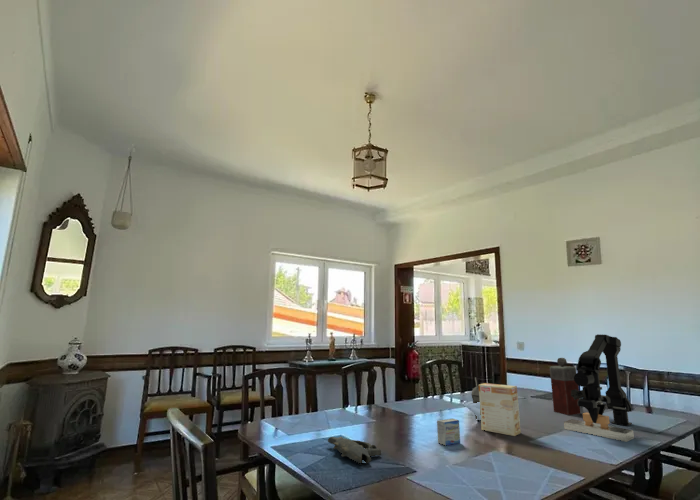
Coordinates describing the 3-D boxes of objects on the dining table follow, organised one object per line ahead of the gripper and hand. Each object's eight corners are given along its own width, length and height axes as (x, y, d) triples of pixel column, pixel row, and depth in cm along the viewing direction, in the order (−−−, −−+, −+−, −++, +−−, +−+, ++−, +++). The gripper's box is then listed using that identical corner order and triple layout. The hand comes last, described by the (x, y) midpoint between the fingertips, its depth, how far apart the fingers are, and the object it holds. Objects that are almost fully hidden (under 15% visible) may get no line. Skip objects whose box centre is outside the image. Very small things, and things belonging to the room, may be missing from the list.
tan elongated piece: (354, 451, 129) (392, 450, 135) (325, 431, 151) (359, 431, 157) (352, 468, 128) (390, 466, 134) (323, 445, 150) (357, 445, 156)
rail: (572, 426, 178) (572, 419, 179) (634, 438, 159) (633, 430, 160) (564, 429, 173) (563, 421, 174) (626, 441, 155) (625, 433, 155)
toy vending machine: (584, 413, 203) (577, 357, 208) (568, 415, 199) (562, 358, 204) (568, 409, 211) (563, 356, 216) (553, 411, 207) (548, 357, 212)
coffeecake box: (521, 433, 167) (517, 385, 171) (515, 436, 162) (511, 387, 166) (487, 427, 178) (484, 382, 181) (480, 430, 172) (477, 384, 176)
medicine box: (445, 446, 150) (444, 422, 152) (437, 443, 154) (436, 420, 156) (460, 443, 154) (459, 420, 156) (452, 440, 158) (451, 417, 159)
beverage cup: (489, 421, 186) (486, 378, 190) (473, 421, 188) (470, 378, 192) (487, 418, 193) (484, 376, 197) (472, 417, 195) (469, 376, 199)
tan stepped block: (587, 428, 171) (586, 412, 172) (610, 432, 164) (608, 416, 165) (584, 429, 169) (582, 413, 170) (607, 433, 162) (605, 417, 163)
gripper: (582, 380, 182) (586, 415, 179) (563, 384, 171) (566, 421, 168) (608, 383, 173) (613, 420, 170) (590, 387, 162) (595, 427, 159)
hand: (596, 422), depth 167 cm, fingers closed on tan stepped block, 3 cm apart
